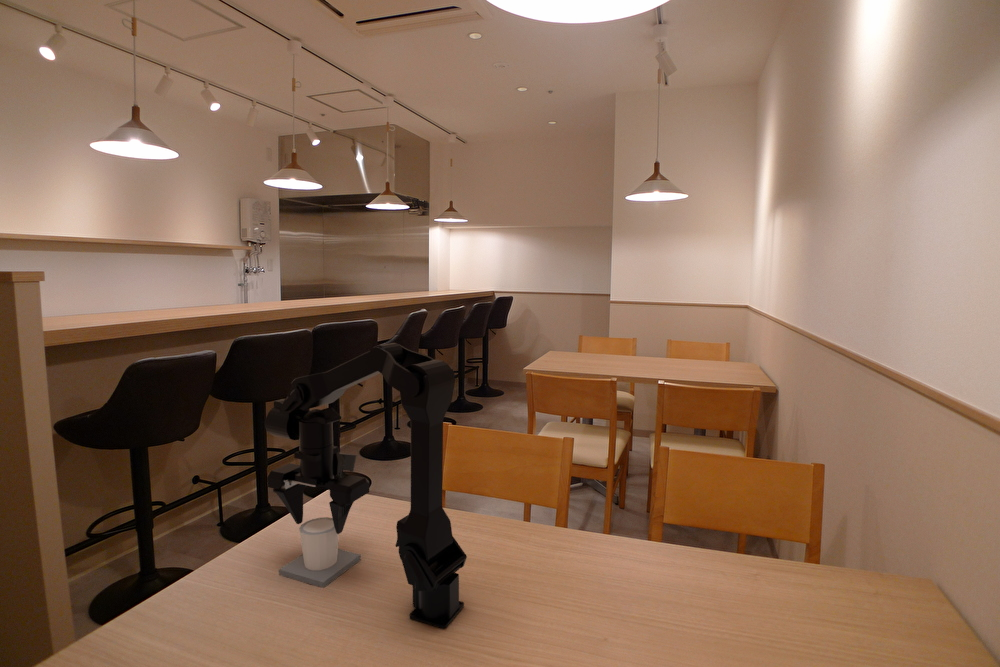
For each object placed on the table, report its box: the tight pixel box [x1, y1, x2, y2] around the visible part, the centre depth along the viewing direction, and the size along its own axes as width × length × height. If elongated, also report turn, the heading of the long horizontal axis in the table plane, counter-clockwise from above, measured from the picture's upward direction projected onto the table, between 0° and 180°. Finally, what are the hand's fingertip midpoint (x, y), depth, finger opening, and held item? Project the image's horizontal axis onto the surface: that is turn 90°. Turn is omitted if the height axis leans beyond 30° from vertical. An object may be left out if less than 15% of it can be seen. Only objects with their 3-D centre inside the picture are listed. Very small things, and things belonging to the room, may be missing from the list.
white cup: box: [298, 516, 340, 570], centre depth 97 cm, size 7×7×7 cm
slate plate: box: [278, 548, 362, 589], centre depth 98 cm, size 10×10×1 cm
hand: (319, 528), depth 97 cm, fingers open, 9 cm apart
